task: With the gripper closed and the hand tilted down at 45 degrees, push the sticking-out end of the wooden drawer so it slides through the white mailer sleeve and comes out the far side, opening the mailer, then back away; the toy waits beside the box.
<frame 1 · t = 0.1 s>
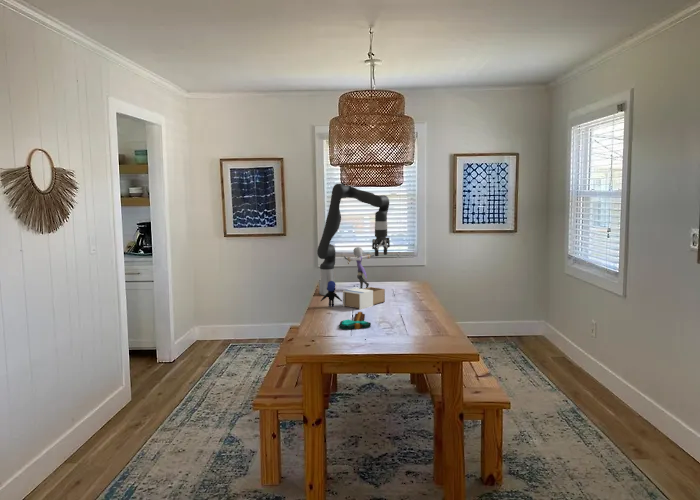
hand: (381, 255, 334), 29 cm above the table, tool pointing down, fingers open, 8 cm apart
sleeve: (357, 306, 329), on the table
toy 2: (356, 323, 290), on the table
figurine: (359, 289, 383), on the table
wooden drawer: (365, 297, 334), point 4 cm above the table, slide at 0.0 cm
toy: (331, 306, 331), on the table
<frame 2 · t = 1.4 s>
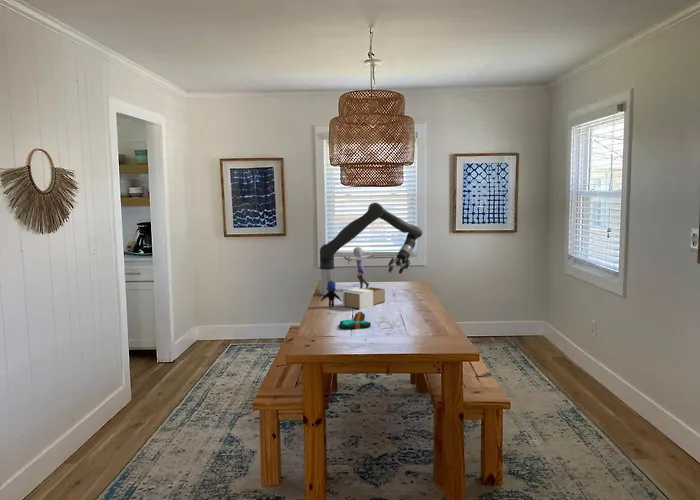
hand: (394, 272, 354), 16 cm above the table, tool tilted 45°, fingers open, 7 cm apart
nothing on the table moved.
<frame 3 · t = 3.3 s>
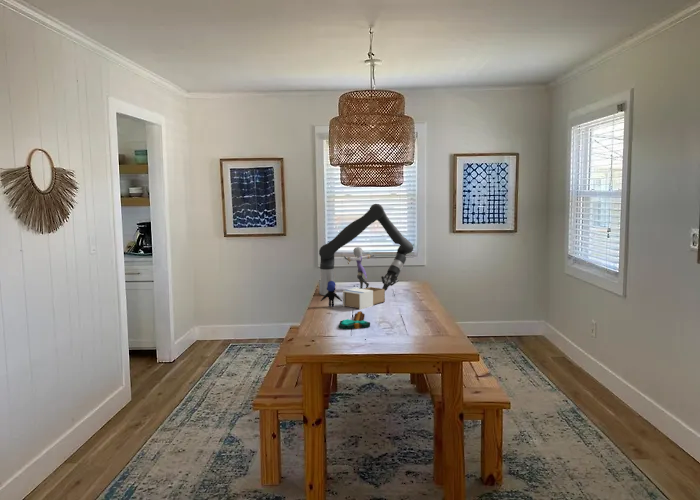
hand: (384, 289, 347), 6 cm above the table, tool tilted 45°, fingers closed
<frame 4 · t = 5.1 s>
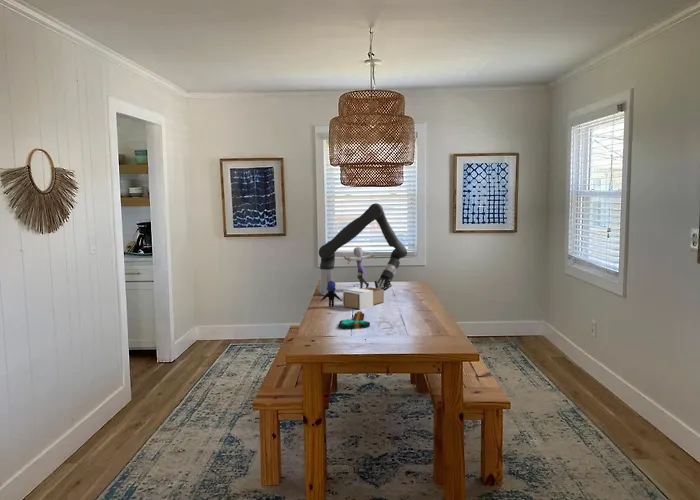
hand: (377, 294, 342), 4 cm above the table, tool tilted 45°, fingers closed
wooden drawer: (364, 297, 333), point 4 cm above the table, slide at 1.1 cm, touching gripper
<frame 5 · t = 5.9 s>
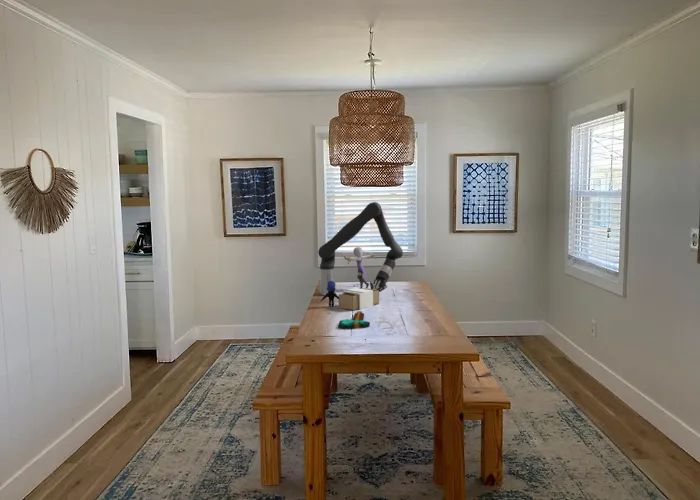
hand: (372, 296, 339), 4 cm above the table, tool tilted 45°, fingers closed
wooden drawer: (359, 298, 329), point 4 cm above the table, slide at 5.8 cm, touching gripper
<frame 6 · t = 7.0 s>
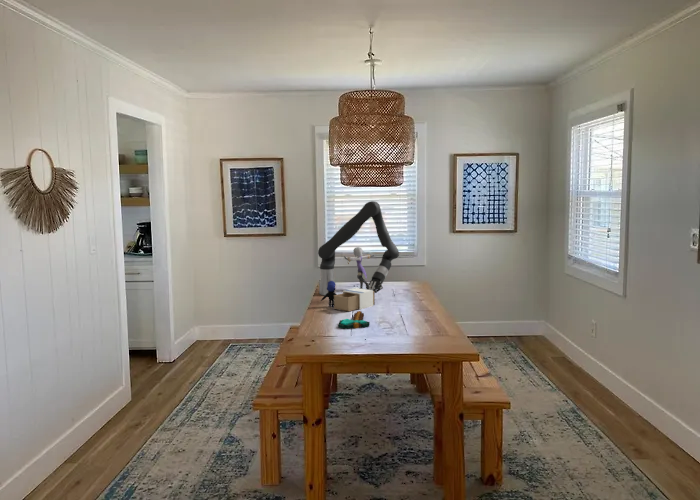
hand: (367, 297, 336), 4 cm above the table, tool tilted 45°, fingers closed
wooden drawer: (354, 300, 326), point 4 cm above the table, slide at 10.0 cm, touching gripper
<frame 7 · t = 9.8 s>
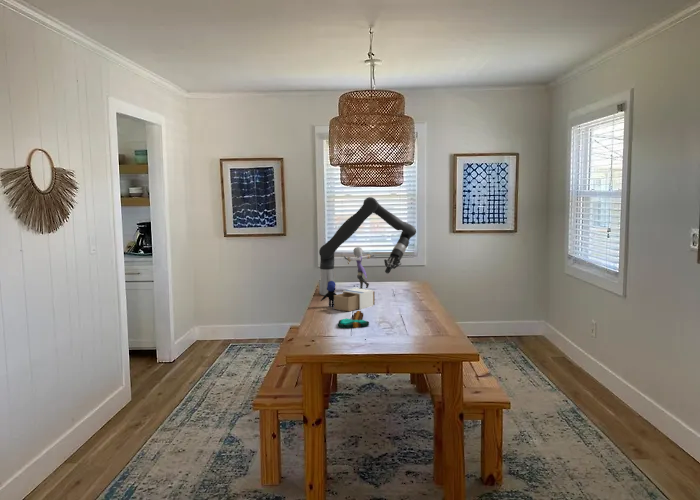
hand: (386, 272, 348), 17 cm above the table, tool tilted 45°, fingers closed
wooden drawer: (354, 300, 326), point 4 cm above the table, slide at 10.0 cm
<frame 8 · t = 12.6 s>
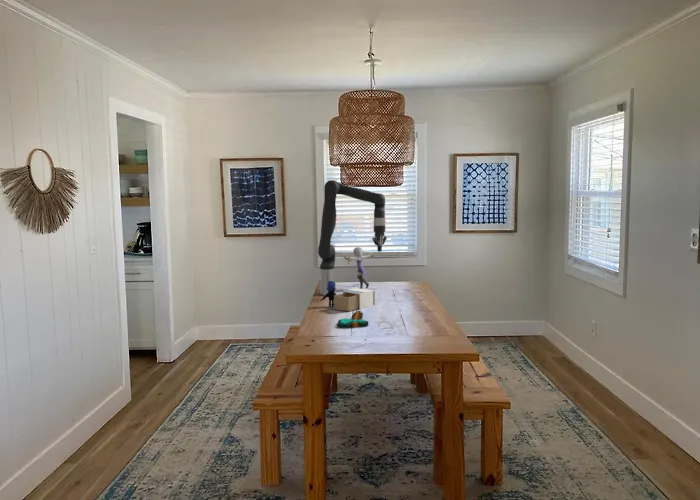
hand: (379, 251, 358), 29 cm above the table, tool pointing down, fingers closed
at the end: wooden drawer slide at 10.0 cm; wooden drawer touching nothing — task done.
